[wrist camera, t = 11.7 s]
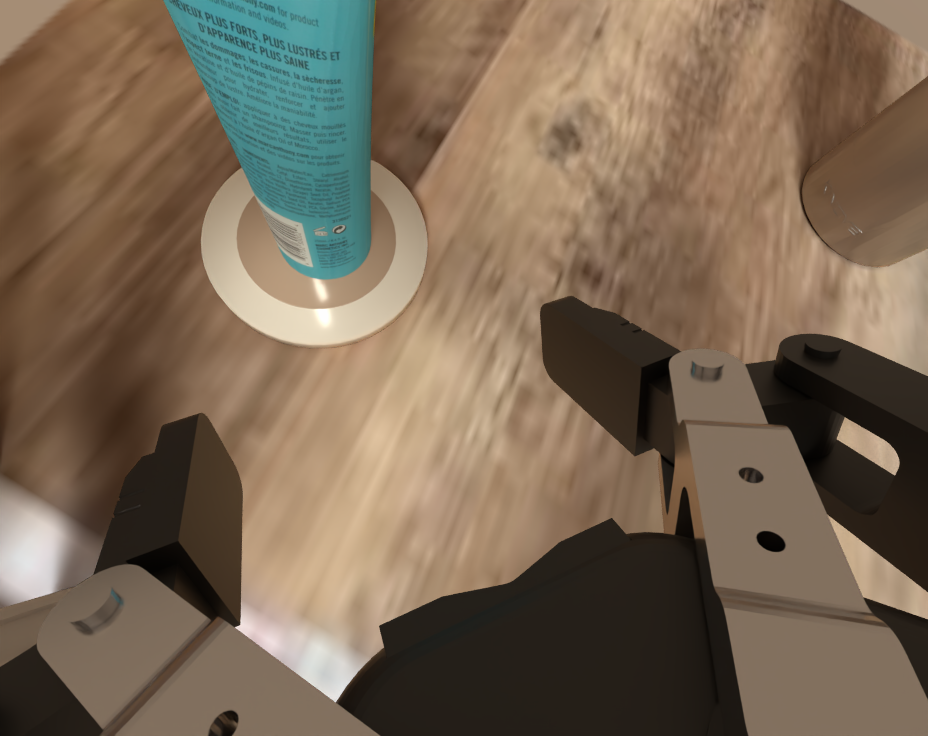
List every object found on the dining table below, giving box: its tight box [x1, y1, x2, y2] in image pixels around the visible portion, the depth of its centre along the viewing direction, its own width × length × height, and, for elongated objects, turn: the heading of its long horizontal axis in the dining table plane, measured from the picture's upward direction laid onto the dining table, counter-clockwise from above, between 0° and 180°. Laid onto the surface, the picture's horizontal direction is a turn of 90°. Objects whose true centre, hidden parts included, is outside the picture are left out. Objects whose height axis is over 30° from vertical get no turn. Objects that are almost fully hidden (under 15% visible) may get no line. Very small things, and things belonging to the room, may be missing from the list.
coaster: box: [201, 160, 428, 348], centre depth 26 cm, size 12×12×1 cm
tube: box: [163, 0, 376, 280], centre depth 17 cm, size 7×5×19 cm, turn 81°
